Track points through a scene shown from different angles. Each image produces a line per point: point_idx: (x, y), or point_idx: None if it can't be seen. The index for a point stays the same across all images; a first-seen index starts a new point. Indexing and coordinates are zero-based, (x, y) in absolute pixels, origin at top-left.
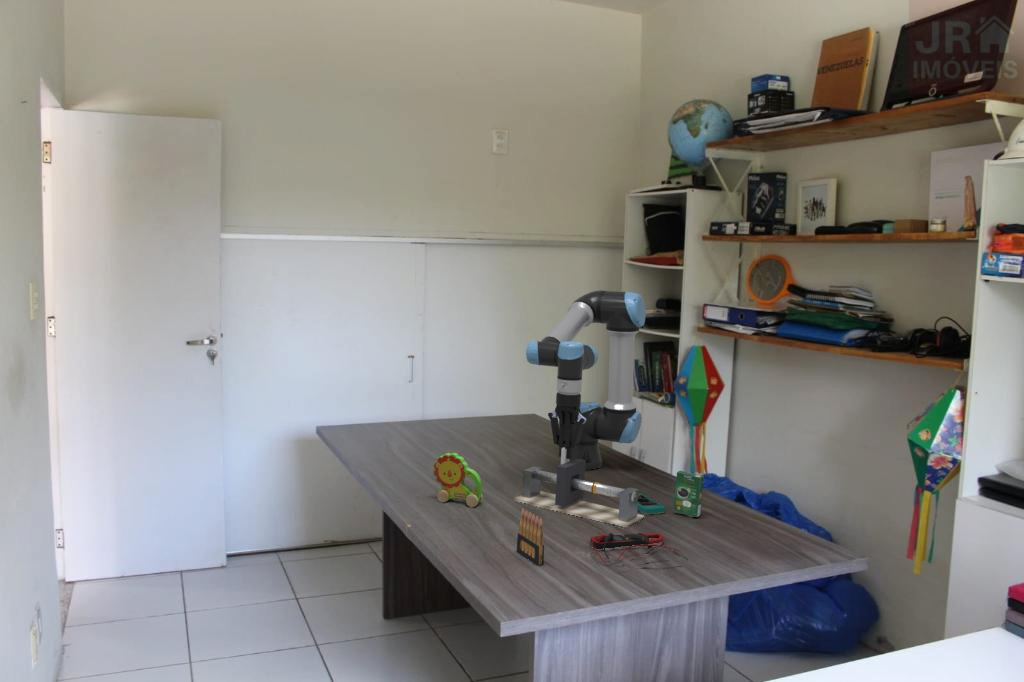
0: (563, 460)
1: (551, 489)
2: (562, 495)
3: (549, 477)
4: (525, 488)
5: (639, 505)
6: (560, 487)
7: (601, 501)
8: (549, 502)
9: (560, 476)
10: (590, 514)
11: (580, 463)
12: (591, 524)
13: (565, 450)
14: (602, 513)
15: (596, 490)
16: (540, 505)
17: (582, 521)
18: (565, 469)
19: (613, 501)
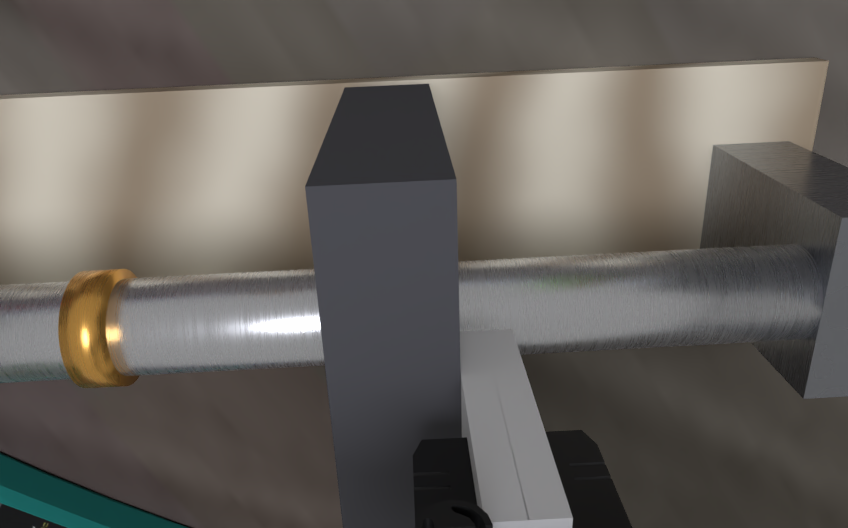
0: (489, 392)
1: (702, 452)
2: (357, 105)
3: (620, 266)
4: (797, 161)
5: (7, 493)
6: (383, 119)
7: (321, 470)
8: (536, 165)
9: (388, 146)
10: (131, 143)
11: (343, 517)
12: (24, 5)
13: (482, 499)
14: (93, 228)
15: (67, 282)
16: (565, 72)
17: (120, 17)
18: (308, 179)
19: (268, 515)
